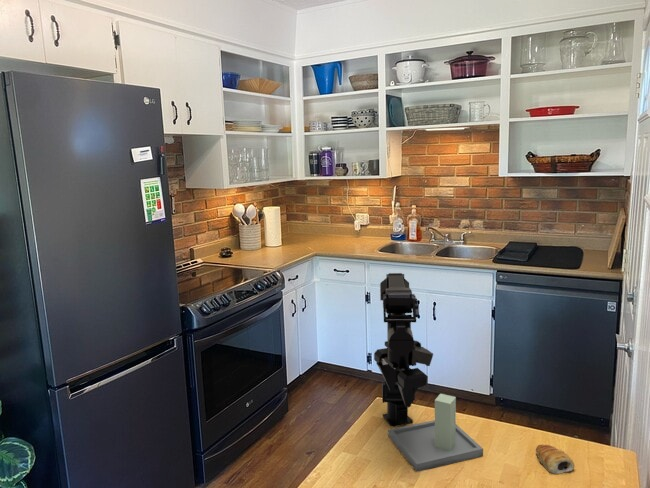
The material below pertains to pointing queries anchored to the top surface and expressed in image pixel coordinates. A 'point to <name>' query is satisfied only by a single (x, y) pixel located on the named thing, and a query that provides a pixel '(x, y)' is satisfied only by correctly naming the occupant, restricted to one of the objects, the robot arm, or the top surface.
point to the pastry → (554, 459)
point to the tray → (432, 446)
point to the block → (445, 421)
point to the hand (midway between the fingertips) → (399, 398)
